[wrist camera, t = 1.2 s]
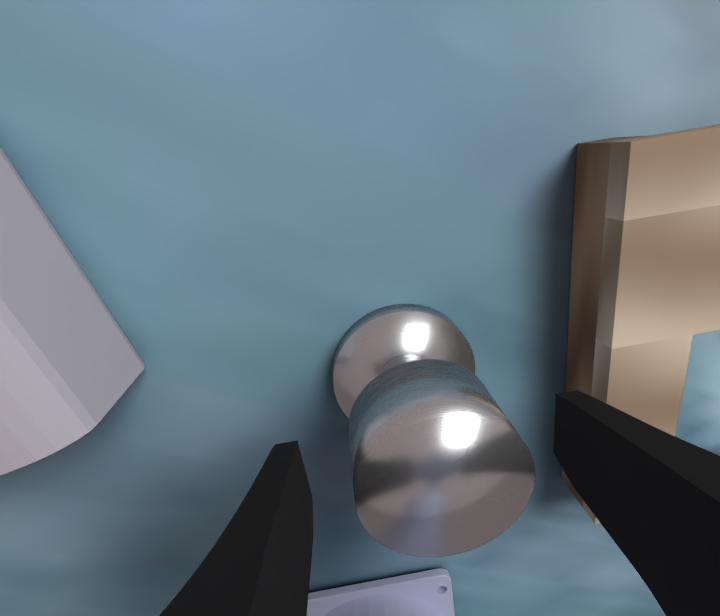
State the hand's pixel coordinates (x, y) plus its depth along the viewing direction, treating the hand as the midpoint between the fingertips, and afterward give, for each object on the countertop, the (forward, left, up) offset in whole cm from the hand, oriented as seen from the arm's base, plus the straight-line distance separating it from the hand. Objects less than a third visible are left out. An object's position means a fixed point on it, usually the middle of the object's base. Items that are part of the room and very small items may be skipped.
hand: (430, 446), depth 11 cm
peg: (0, 0, -5) cm, 5 cm away
